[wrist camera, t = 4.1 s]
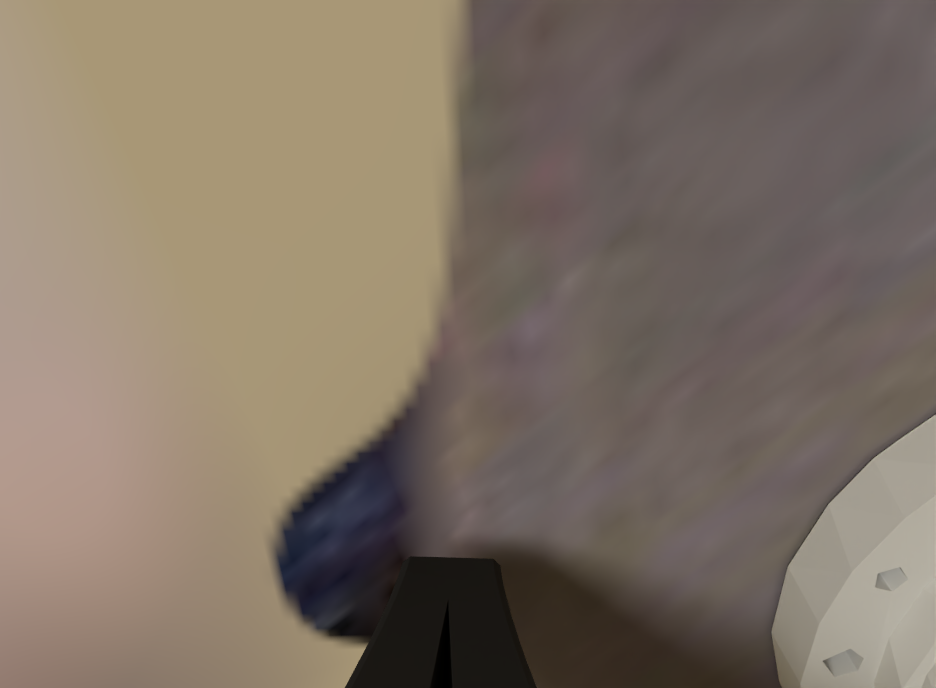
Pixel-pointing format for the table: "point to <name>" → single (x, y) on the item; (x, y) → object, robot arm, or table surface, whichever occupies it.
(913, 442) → the mechanical component
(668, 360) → the table surface
